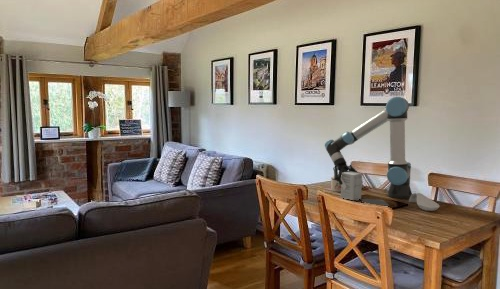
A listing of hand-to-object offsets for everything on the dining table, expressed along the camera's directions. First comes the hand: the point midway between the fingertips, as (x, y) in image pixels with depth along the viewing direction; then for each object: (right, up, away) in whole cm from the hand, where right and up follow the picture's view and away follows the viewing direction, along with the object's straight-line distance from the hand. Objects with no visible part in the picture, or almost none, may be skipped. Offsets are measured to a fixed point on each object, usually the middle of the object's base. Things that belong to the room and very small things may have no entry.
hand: (353, 187), depth 239 cm
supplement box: (-1, -8, +3) cm, 8 cm away
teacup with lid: (-3, -5, +27) cm, 27 cm away
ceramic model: (+12, -4, +39) cm, 41 cm away
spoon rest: (+37, -10, -14) cm, 41 cm away
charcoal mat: (+10, -9, -9) cm, 16 cm away
